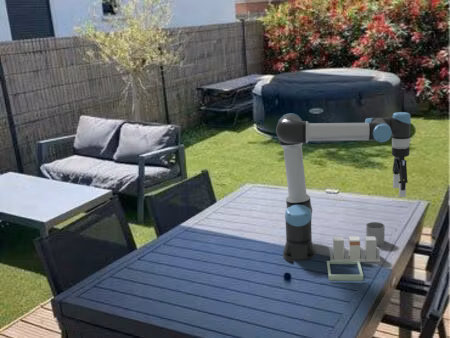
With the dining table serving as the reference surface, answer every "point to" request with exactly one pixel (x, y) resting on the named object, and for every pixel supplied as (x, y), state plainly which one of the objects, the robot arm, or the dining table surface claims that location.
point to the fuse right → (370, 247)
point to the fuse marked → (354, 248)
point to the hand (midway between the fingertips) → (399, 192)
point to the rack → (362, 259)
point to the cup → (376, 231)
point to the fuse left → (338, 247)
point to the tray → (344, 276)
